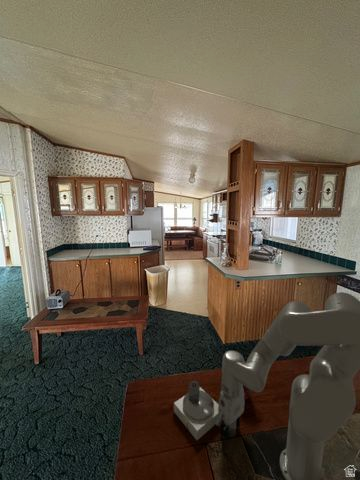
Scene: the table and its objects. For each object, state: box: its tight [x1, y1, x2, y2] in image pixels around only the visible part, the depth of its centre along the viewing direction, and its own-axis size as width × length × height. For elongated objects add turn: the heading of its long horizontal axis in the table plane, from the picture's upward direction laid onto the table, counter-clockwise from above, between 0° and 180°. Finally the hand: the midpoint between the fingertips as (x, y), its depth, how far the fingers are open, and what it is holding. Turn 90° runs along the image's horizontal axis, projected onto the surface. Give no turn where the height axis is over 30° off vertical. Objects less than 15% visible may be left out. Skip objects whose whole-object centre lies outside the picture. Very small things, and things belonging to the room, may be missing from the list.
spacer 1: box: [188, 380, 201, 403], centre depth 86 cm, size 4×4×6 cm
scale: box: [173, 386, 219, 441], centre depth 85 cm, size 14×14×4 cm
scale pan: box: [183, 390, 214, 420], centre depth 85 cm, size 12×12×1 cm
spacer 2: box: [223, 420, 237, 439], centre depth 79 cm, size 4×4×6 cm
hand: (229, 429), depth 79 cm, fingers open, 6 cm apart
